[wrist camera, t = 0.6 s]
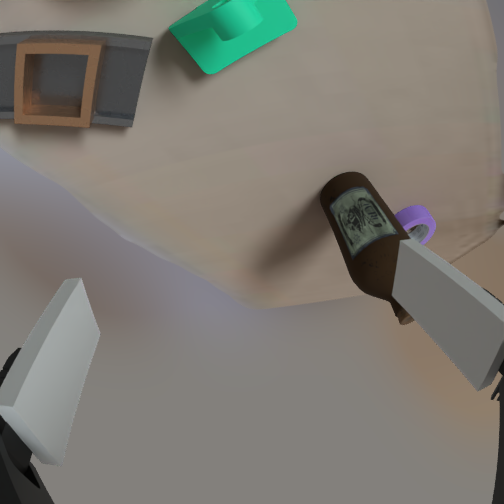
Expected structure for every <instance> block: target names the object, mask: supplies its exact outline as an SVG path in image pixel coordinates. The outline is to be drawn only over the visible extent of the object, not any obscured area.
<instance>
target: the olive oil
mask: <svg viewBox="0 0 504 504" xmlns="http://www.w3.org/2000/svg"><path fill="white" fill-rule="evenodd" d="M320 200H321V205H322V207H323V209H324V212H325V214H326V216H327V218H328V220H329V223H330V225H331V227H332V230H333V232H334V235H335V237H336V240H337V242H338V245H339V247H340V250H341V252H342V255H343V258H344V260H345V263H346V266H347V269H348V271H349V274H350V276H351V278H352V280H353V282H354V283H355V284H356V285H357V286H358V288H359V289H360V290H362V291H363V292H364V293H366V294H368V295H371V296H374V297H377V298H380V299H383V300H386V301H389V302H390V303H391V305H392V308H393V310H394V313H395V316H396V317H398V319H399V323H400V324H401V325H405V324H408V323H411V322H413V321H414V319H413V317H412V316H411V315H410V314H409V313H408V312H407V311H406V310H405V309H404V308H403V307H402V306H401V305H400V304H399V303H398V302H397V301H396V299H395V298H394V297H393V296H392V291H393V285H394V279H395V273H396V266H397V260H398V252H399V245H400V240H408V239H411V238H410V237H409V235H408V234H407V232H406V231H405V230H404V228H403V227H402V225H401V224H400V223H399V221H398V220H397V218H396V217H395V216H394V214H393V213H392V211H391V210H390V209H389V207H388V206H387V205H386V203H385V202H384V201H383V199H382V198H381V196H380V195H379V194H378V192H377V191H376V190H375V188H374V187H373V185H372V184H371V183H370V181H369V180H368V179H367V178H366V177H365V176H364V175H363V174H361V173H358V172H347V173H343V174H340V175H338V176H336V177H335V178H333V179H332V180H331V181H329V182H328V183H327V185H326V186H325V187H324V189H323V191H322V193H321V198H320Z"/></svg>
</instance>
